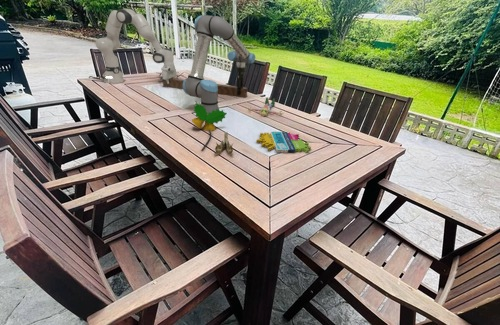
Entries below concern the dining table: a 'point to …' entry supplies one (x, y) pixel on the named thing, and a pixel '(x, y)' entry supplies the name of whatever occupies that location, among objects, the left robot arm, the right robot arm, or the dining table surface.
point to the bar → (221, 88)
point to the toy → (266, 108)
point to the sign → (283, 142)
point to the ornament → (207, 117)
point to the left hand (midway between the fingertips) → (170, 82)
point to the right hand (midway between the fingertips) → (239, 93)
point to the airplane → (162, 79)
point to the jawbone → (224, 145)
